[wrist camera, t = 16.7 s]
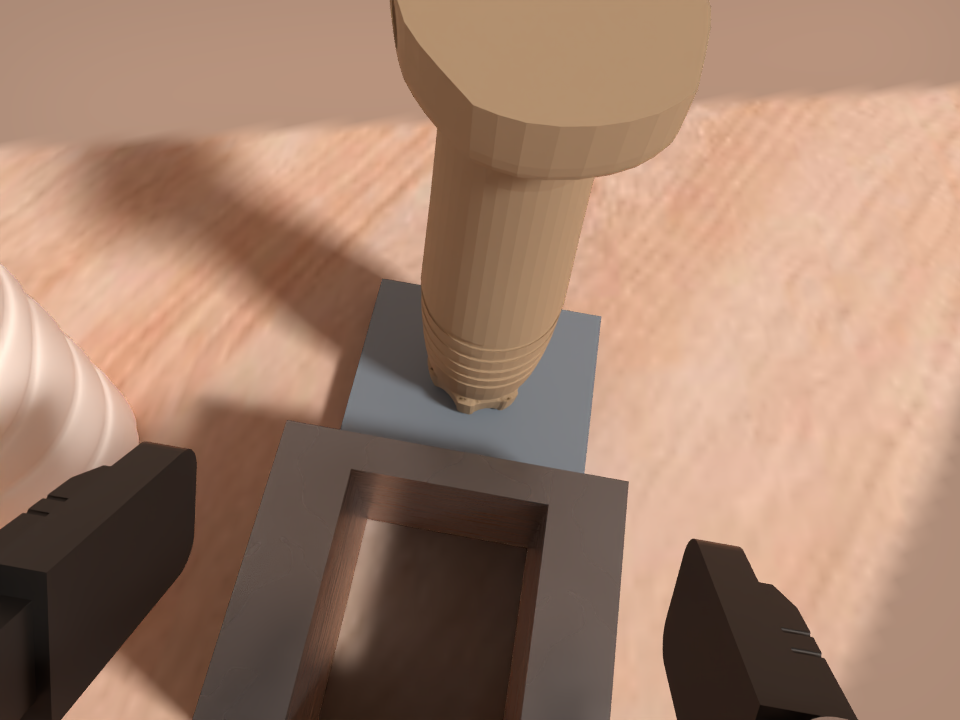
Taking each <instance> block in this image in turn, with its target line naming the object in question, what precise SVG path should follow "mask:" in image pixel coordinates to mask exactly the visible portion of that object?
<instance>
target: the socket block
mask: <svg viewBox="0 0 960 720" xmlns="http://www.w3.org/2000/svg"><path fill="white" fill-rule="evenodd" d="M628 483H629V482H628V481H622V480H617V479H611V478H606V477H600V476H595V475H589V474H584V473H578V472H572V471H567V470H561V469H556V468H550V467H545V466H539V465H534V464H528V463H522V462H517V461H511V460H506V459H500V458H495V457H489V456H484V455H478V454H472V453H467V452H461V451H456V450H450V449H445V448H439V447H434V446H428V445H422V444H417V443H411V442H406V441H400V440H395V439H389V438H384V437H378V436H372V435H367V434H361V433H356V432H350V431H345V430H339V429H334V428H328V427H322V426H317V425H311V424H306V423H300V422H295V421H289V420H287V422H286V425H285V428H284V431H283V434H282V437H281V441H280V444H279V447H278V450H277V453H276V456H275V460H274V463H273V466H272V469H271V472H270V475H269V479H268V482H267V485H266V488H265V491H264V494H263V498H262V501H261V504H260V507H259V510H258V513H257V517H256V520H255V523H254V526H253V529H252V532H251V536H250V539H249V542H248V545H247V548H246V551H245V555H244V558H243V561H242V564H241V567H240V570H239V573H238V577H237V580H236V583H235V586H234V589H233V592H232V596H231V599H230V602H229V605H228V608H227V611H226V615H225V618H224V621H223V624H222V627H221V630H220V634H219V637H218V640H217V643H216V646H215V649H214V653H213V656H212V659H211V662H210V665H209V668H208V672H207V675H206V678H205V681H204V684H203V687H202V691H201V694H200V697H199V700H198V703H197V706H196V709H195V713H194V716H193V719H192V720H318V718H319V714H320V710H321V706H322V702H323V698H324V694H325V690H326V686H327V682H328V678H329V673H330V669H331V665H332V661H333V657H334V653H335V649H336V645H337V641H338V637H339V633H340V628H341V624H342V620H343V616H344V612H345V608H346V604H347V600H348V596H349V592H350V588H351V583H352V579H353V575H354V571H355V567H356V563H357V559H358V555H359V551H360V547H361V543H362V538H363V534H364V530H365V526H366V522H367V519H371V520H376V521H382V522H387V523H393V524H398V525H403V526H409V527H414V528H420V529H425V530H431V531H436V532H442V533H447V534H453V535H458V536H463V537H469V538H474V539H480V540H485V541H491V542H496V543H502V544H507V545H512V546H518V547H523V548H527V554H526V561H525V568H524V575H523V582H522V590H521V597H520V604H519V611H518V618H517V626H516V633H515V640H514V647H513V654H512V661H511V669H510V676H509V683H508V690H507V697H506V705H505V712H504V719H503V720H610V712H611V700H612V687H613V674H614V662H615V649H616V636H617V623H618V611H619V598H620V585H621V572H622V560H623V547H624V534H625V521H626V509H627V496H628Z"/></svg>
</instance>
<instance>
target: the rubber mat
mask: <svg viewBox="0 0 960 720" xmlns="http://www.w3.org/2000/svg"><path fill="white" fill-rule="evenodd" d="M600 323H601V316H595V315H590V314H584V313H578V312H572V311H566V310H561V313H560V316H559V318H558V321H557V324H556V327H555V329H554V332H553V334H552V337H551V339H550V342H549V344H548V346H547V347H546V350H545V352H544V354H543V355H542V357H541V359H540V361H539V362H538V364H537V366H536V367H535V369H534V370H533V372H532V373H531V375H530V376H529V377H528V378H527V380H526V381H525V382H524V383H523V384H522V385H521V386H520V387H519V388H518V390H517V391H518V395H517V397H516V399H515V400H514V402H513V403H512V404H511V405H509V406H508V407H507V408H505V409H504V410H497V409H494V408H484V409H480V410H477V411H475V412H473V413H472V414H470V415H469V414H465V413H462V412H459V411H458V410H457V408H456V405H455V403H454V401H453V399H452V398H451V397H450V395H449V394H448V393H447V392H446V391H445V390H443V389H442V388H440V387H437V386H435V385H434V383H433V381H432V379H431V377H430V373H429V369H428V354H427V350H426V345H425V339H424V331H423V321H422V306H421V285H417V284H411V283H405V282H399V281H394V280H388V279H382V282H381V285H380V289H379V292H378V296H377V300H376V303H375V307H374V310H373V314H372V318H371V321H370V325H369V328H368V332H367V336H366V339H365V343H364V346H363V350H362V354H361V357H360V361H359V364H358V368H357V372H356V375H355V379H354V382H353V386H352V390H351V393H350V397H349V400H348V404H347V408H346V411H345V415H344V418H343V422H342V426H341V429H340V430H345V431H350V432H356V433H361V434H367V435H372V436H378V437H384V438H389V439H395V440H400V441H406V442H411V443H417V444H422V445H428V446H434V447H439V448H445V449H450V450H456V451H461V452H467V453H472V454H478V455H484V456H489V457H495V458H500V459H506V460H511V461H517V462H522V463H528V464H534V465H539V466H545V467H550V468H556V469H561V470H567V471H572V472H578V473H584V471H585V462H586V453H587V443H588V434H589V425H590V416H591V406H592V397H593V388H594V379H595V369H596V360H597V351H598V342H599V333H600Z"/></svg>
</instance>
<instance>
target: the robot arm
mask: <svg viewBox="0 0 960 720" xmlns="http://www.w3.org/2000/svg"><path fill="white" fill-rule="evenodd" d="M196 469H197V462H196V456H195V453H194V452H193V451H192V450H191V449H186V448H180V447H175V446H169V445H163V444H158V443H152V442H142V443H141V444H139V445H138V446H136V447H135V448H134V449H133V450H131V451H130V452H129V453H127V454H126V455H125V456H123V457H122V458H121V459H120V460H118V461H117V462H116V463H114V464H113V465H112V466H106V465H103V466H100V467H98V468H95V469H92V470H90V471H87V472H84V473H82V474H79V475H76V476H74V477H71V478H70V479H68V480H67V481H66V482H64V483H63V484H61V485H60V486H59V487H57V488H56V489H55V490H53V491H52V492H50V493H49V494H48V495H47V498H46V499H45V498H42V499H41V500H40V501H38V502H37V503H35V504H34V505H33V506H31V507H30V508H29V509H28V511H27V513H22V514H20V515H19V516H18V517H16V518H15V519H13V520H12V521H11V522H9V523H8V524H7V525H5V526H4V527H3V528H1V529H0V720H61V719H62V718H63V717H64V715H65V714H66V713H67V712H68V710H69V709H70V708H71V707H72V706H73V704H74V703H75V702H76V701H77V699H78V698H79V697H80V696H81V695H82V693H83V692H84V691H85V690H86V688H87V687H88V686H89V685H90V684H91V682H92V681H93V680H94V679H95V678H96V676H97V675H98V674H99V673H100V671H101V670H102V669H103V668H104V667H105V665H106V664H107V663H108V662H109V660H110V659H111V658H112V657H113V656H114V654H115V653H116V652H117V651H118V649H119V648H120V647H121V646H122V645H123V643H124V642H125V641H126V640H127V638H128V637H129V636H130V635H131V634H132V632H133V631H134V630H135V629H136V628H137V626H138V625H139V624H140V623H141V621H142V620H143V619H144V618H145V617H146V615H147V614H148V613H149V612H150V610H151V609H152V608H153V607H154V606H155V604H156V603H157V602H158V601H159V599H160V598H161V597H162V596H163V595H164V593H165V592H166V591H167V590H168V589H169V587H170V586H171V585H172V584H173V582H174V581H175V580H176V579H177V578H178V576H179V575H180V574H181V572H182V571H183V569H184V567H185V565H186V563H187V561H188V558H189V555H190V552H191V549H192V545H193V539H194V524H195V496H196ZM663 660H664V666H665V670H666V674H667V679H668V683H669V687H670V691H671V696H672V700H673V704H674V708H675V713H676V717H677V720H858V719H857V717H856V715H855V714H854V712H853V710H852V708H851V706H850V704H849V703H848V701H847V699H846V697H845V695H844V693H843V691H842V690H841V688H840V686H839V684H838V682H837V680H836V679H835V677H834V675H833V673H832V671H831V669H830V668H829V666H828V664H827V662H826V660H825V658H821V651H820V649H819V647H818V645H817V644H816V642H815V640H814V638H813V637H810V631H809V629H808V627H807V625H806V623H805V621H804V620H803V618H802V616H801V614H800V612H799V610H798V609H797V607H796V606H795V605H793V604H792V603H791V602H790V601H789V600H788V599H787V598H786V597H785V596H784V595H783V594H782V593H781V592H780V591H779V590H777V589H776V588H775V587H774V586H773V585H771V584H766V583H760V582H758V580H757V578H756V576H755V574H754V572H753V569H752V567H751V565H750V563H749V561H748V559H747V557H746V555H745V553H744V551H743V550H742V548H741V547H738V546H732V545H726V544H721V543H715V542H709V541H704V540H698V539H691V540H690V541H689V543H688V544H687V546H686V549H685V552H684V555H683V559H682V563H681V566H680V570H679V574H678V577H677V581H676V585H675V588H674V592H673V596H672V599H671V603H670V607H669V610H668V614H667V618H666V622H665V627H664V634H663Z"/></svg>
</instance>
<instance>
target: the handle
mask: <svg viewBox="0 0 960 720" xmlns="http://www.w3.org/2000/svg"><path fill="white" fill-rule="evenodd" d="M390 8H391V17H392V25H393V32H394V40H395V46H396V52H397V57H398V61H399V65H400V68H401V72H402V75H403V78H404V80H405V82H406V84H407V86H408V87H409V89H410V91H411V93H412V95H413V97H414V98H415V99H416V101H417V102H418V104H419V105H420V107H421V108H422V110H423V111H424V113H425V114H426V115H427V116H428V118H429V119H430V120H431V121H432V122H433V124H434V125H435V126H436V127H437V137H436V146H435V156H434V166H433V176H432V186H431V196H430V205H429V213H428V222H427V230H426V239H425V247H424V256H423V264H422V273H421V306H422V321H423V331H424V339H425V345H426V350H427V354H428V369H429V373H430V377H431V379H432V381H433V383H434V385H435V386H437V387H440V388H442V389H443V390H445V391H446V392H447V393H448V394H449V395H450V397H451V398H452V399H453V401H454V403H455V405H456V408H457V410H458V411H459V412H462V413H465V414H469V415H470V414H472V413H473V412H475V411H477V410H480V409H484V408H494V409H497V410H504V409H505V408H507V407H508V406H509V405H511V404H512V403H513V402H514V400H515V399H516V397H517V395H518V391H517V390H518V388H519V387H520V386H521V385H522V384H523V383H524V382H525V381H526V380H527V378H528V377H529V376H530V375H531V373H532V372H533V370H534V369H535V367H536V366H537V364H538V362H539V361H540V359H541V357H542V355H543V354H544V352H545V350H546V347H547V346H548V344H549V342H550V339H551V337H552V334H553V332H554V329H555V327H556V324H557V321H558V318H559V316H560V313H561V310H562V307H563V305H564V301H565V297H566V293H567V289H568V284H569V280H570V276H571V271H572V267H573V263H574V259H575V254H576V250H577V246H578V241H579V237H580V233H581V229H582V225H583V221H584V217H585V213H586V209H587V205H588V201H589V197H590V193H591V189H592V185H593V181H594V177H600V176H607V175H612V174H615V173H618V172H621V171H625V170H628V169H631V168H635V167H637V166H639V165H640V164H642V163H644V162H646V161H648V160H649V159H651V158H653V157H655V156H656V155H657V154H658V153H660V152H661V151H662V150H664V149H665V148H666V147H667V146H669V145H670V144H671V143H672V142H673V140H674V138H675V137H676V135H677V134H678V132H679V130H680V127H681V125H682V123H683V121H684V119H685V117H686V115H687V112H688V110H689V108H690V106H691V104H692V101H693V99H694V97H695V95H696V92H697V90H698V86H699V81H700V77H701V73H702V68H703V64H704V59H705V55H706V50H707V44H708V39H709V33H710V27H711V6H710V2H709V0H390Z"/></svg>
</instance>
